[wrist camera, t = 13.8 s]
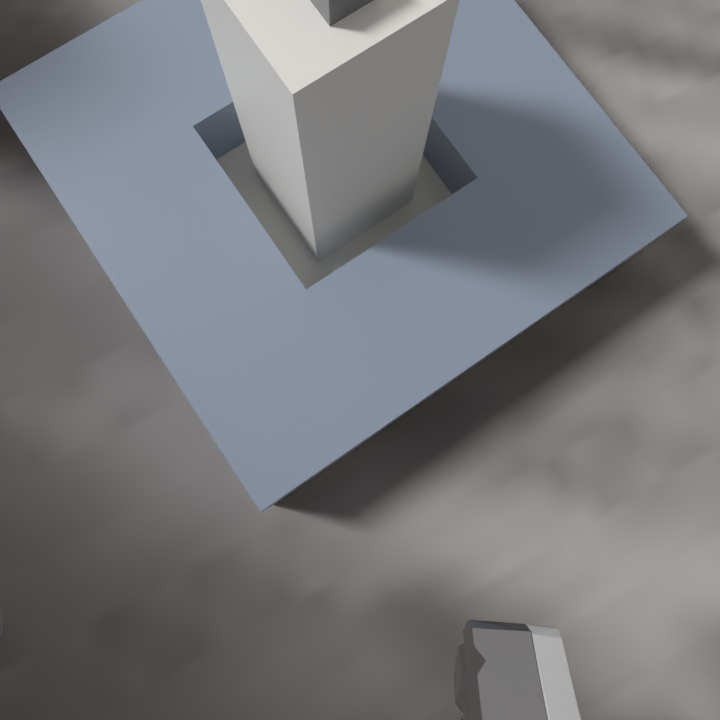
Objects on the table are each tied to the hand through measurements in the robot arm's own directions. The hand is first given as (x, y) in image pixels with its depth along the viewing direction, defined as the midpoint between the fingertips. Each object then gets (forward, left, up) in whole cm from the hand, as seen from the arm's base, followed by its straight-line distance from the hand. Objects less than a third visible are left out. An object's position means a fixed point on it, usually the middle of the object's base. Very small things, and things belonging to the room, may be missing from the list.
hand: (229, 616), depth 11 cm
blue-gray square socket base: (-9, +8, -10) cm, 16 cm away
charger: (-9, +8, -10) cm, 16 cm away
